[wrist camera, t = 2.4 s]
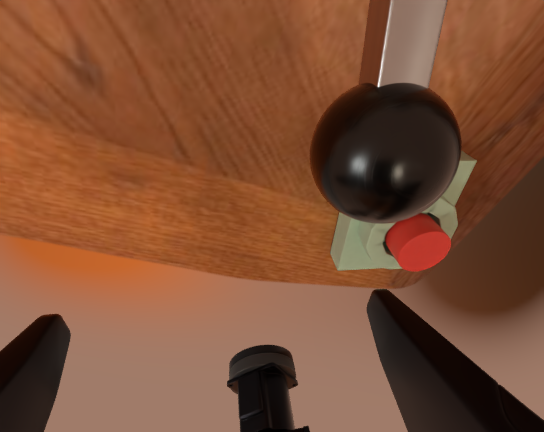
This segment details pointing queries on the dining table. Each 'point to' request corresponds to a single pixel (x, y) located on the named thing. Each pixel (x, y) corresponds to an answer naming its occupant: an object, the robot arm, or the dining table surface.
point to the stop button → (417, 242)
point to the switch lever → (389, 122)
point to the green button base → (371, 237)
